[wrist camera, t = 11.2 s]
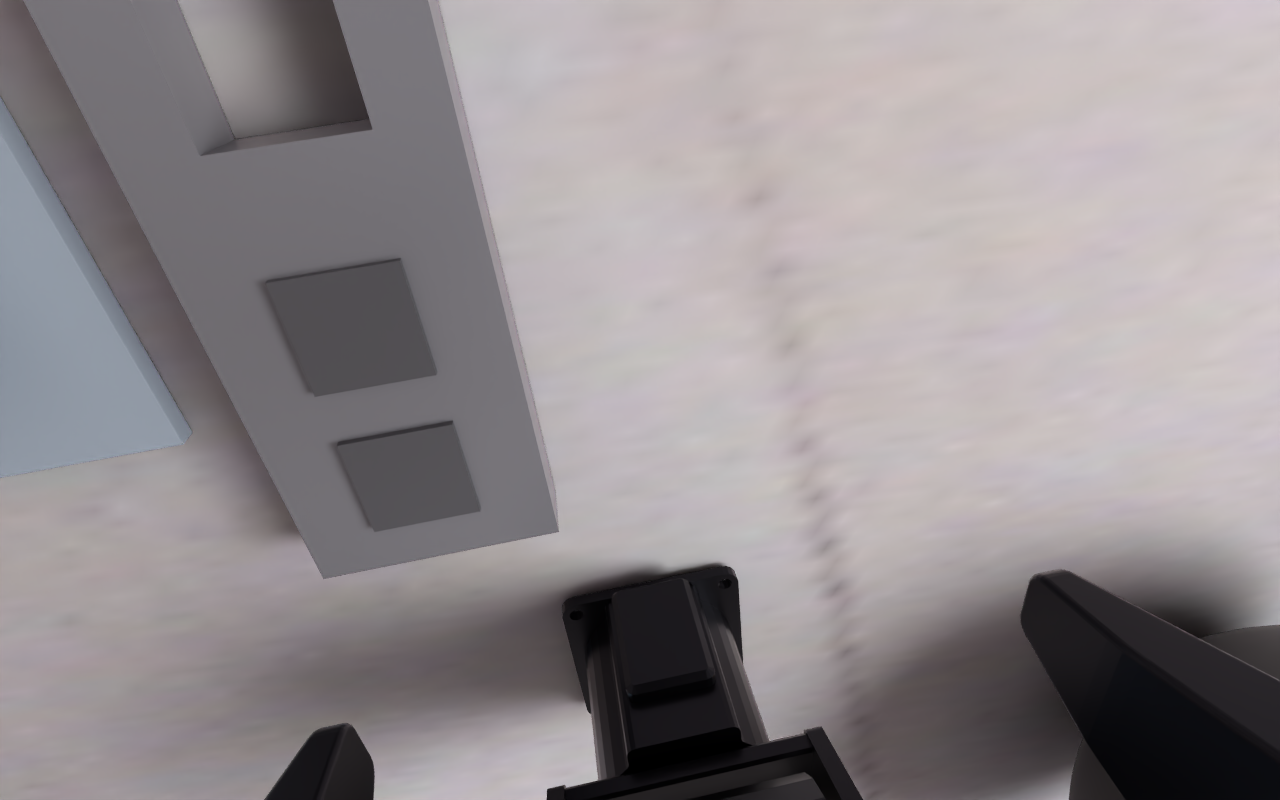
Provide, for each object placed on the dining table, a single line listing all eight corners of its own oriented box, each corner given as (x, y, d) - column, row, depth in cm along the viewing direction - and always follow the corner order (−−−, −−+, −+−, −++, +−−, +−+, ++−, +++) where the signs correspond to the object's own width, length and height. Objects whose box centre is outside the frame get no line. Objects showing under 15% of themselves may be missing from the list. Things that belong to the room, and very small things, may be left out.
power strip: (555, 491, 22) (560, 550, 19) (338, 532, 21) (316, 599, 19) (238, -836, 9) (142, -1125, 7) (-305, -811, 9) (-607, -1112, 6)
